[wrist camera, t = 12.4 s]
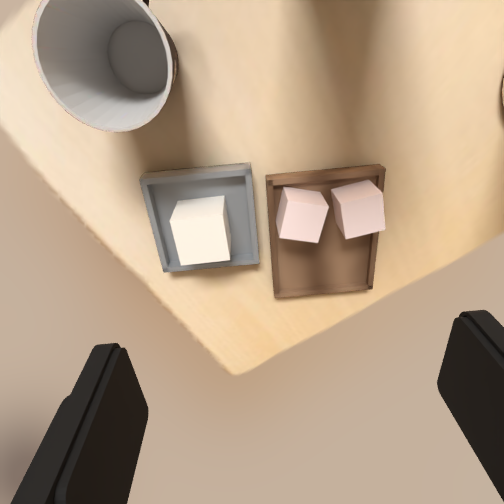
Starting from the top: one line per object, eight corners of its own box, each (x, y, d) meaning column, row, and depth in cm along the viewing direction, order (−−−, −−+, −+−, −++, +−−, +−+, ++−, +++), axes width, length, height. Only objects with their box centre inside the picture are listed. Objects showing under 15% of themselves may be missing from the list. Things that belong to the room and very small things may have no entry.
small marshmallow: (320, 191, 36) (328, 206, 33) (310, 225, 38) (317, 243, 35) (283, 186, 36) (287, 200, 32) (275, 220, 38) (279, 237, 34)
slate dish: (250, 162, 35) (250, 168, 34) (258, 253, 41) (259, 263, 39) (144, 172, 36) (139, 179, 34) (166, 262, 41) (163, 272, 39)
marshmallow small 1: (368, 179, 36) (382, 193, 32) (372, 213, 38) (385, 229, 34) (330, 189, 36) (340, 203, 33) (335, 222, 38) (345, 239, 35)
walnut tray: (379, 164, 36) (385, 168, 35) (367, 281, 44) (372, 288, 42) (265, 175, 36) (266, 180, 35) (273, 289, 44) (274, 297, 42)
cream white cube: (224, 195, 36) (222, 214, 32) (231, 236, 39) (230, 260, 35) (177, 200, 36) (169, 220, 32) (187, 241, 39) (180, 265, 35)
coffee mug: (147, 130, 34) (116, 157, 25) (71, 53, 30) (3, 54, 21) (235, 38, 30) (234, 33, 21) (160, -61, 27) (122, -115, 18)
